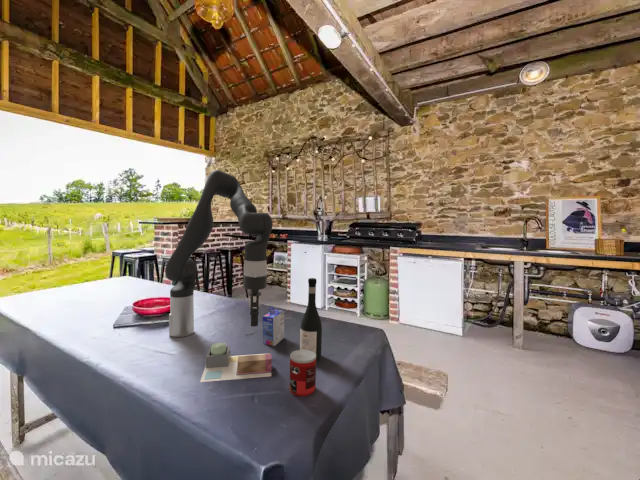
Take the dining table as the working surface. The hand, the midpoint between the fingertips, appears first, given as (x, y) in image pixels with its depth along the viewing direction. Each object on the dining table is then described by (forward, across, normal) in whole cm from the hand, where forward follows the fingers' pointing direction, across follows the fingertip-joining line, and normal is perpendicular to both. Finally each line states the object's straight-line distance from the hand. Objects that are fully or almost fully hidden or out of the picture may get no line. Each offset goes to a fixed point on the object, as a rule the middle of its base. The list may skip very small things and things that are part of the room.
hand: (254, 321), depth 98 cm
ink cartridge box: (+18, -23, +8) cm, 30 cm away
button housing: (+17, -7, -12) cm, 22 cm away
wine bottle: (+18, -7, +21) cm, 28 cm away
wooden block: (+17, 0, 0) cm, 17 cm away
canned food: (+18, +13, +15) cm, 26 cm away
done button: (+15, -7, -12) cm, 20 cm away
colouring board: (+18, -3, -5) cm, 19 cm away
